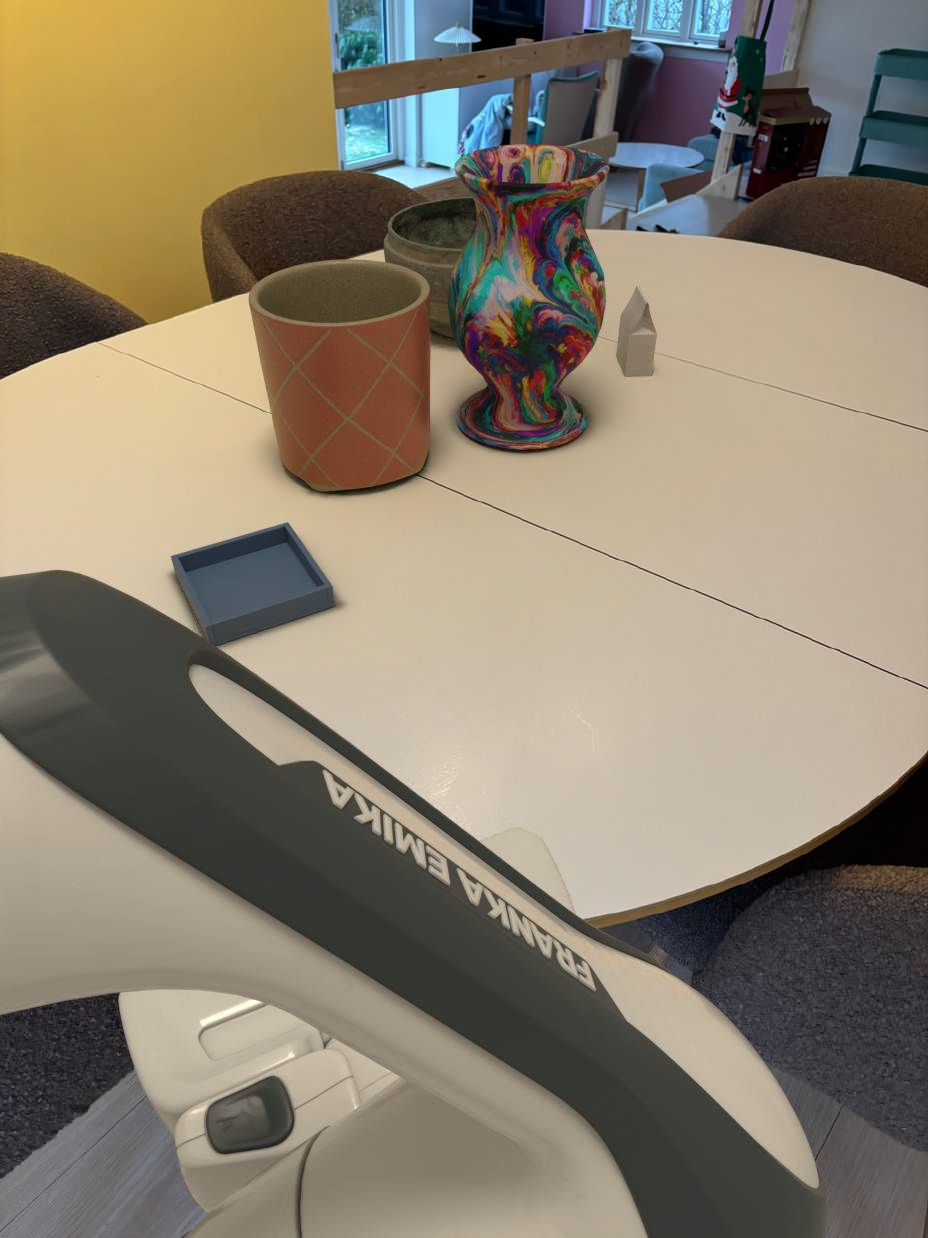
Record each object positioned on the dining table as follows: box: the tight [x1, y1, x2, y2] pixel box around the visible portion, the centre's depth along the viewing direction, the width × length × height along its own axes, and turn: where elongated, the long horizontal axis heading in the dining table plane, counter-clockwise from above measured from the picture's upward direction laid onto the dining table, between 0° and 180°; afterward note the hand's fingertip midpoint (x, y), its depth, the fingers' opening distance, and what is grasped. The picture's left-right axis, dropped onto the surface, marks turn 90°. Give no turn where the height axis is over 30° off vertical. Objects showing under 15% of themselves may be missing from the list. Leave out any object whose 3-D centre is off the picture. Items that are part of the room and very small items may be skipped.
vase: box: [447, 143, 611, 450], centre depth 104 cm, size 18×18×30 cm
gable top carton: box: [615, 285, 658, 377], centre depth 122 cm, size 4×7×10 cm, turn 3°
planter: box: [248, 258, 431, 492], centre depth 101 cm, size 19×19×20 cm
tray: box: [170, 521, 336, 647], centre depth 87 cm, size 12×12×2 cm
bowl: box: [383, 196, 477, 339], centre depth 133 cm, size 32×26×15 cm
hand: (314, 835), depth 46 cm, fingers open, 8 cm apart
